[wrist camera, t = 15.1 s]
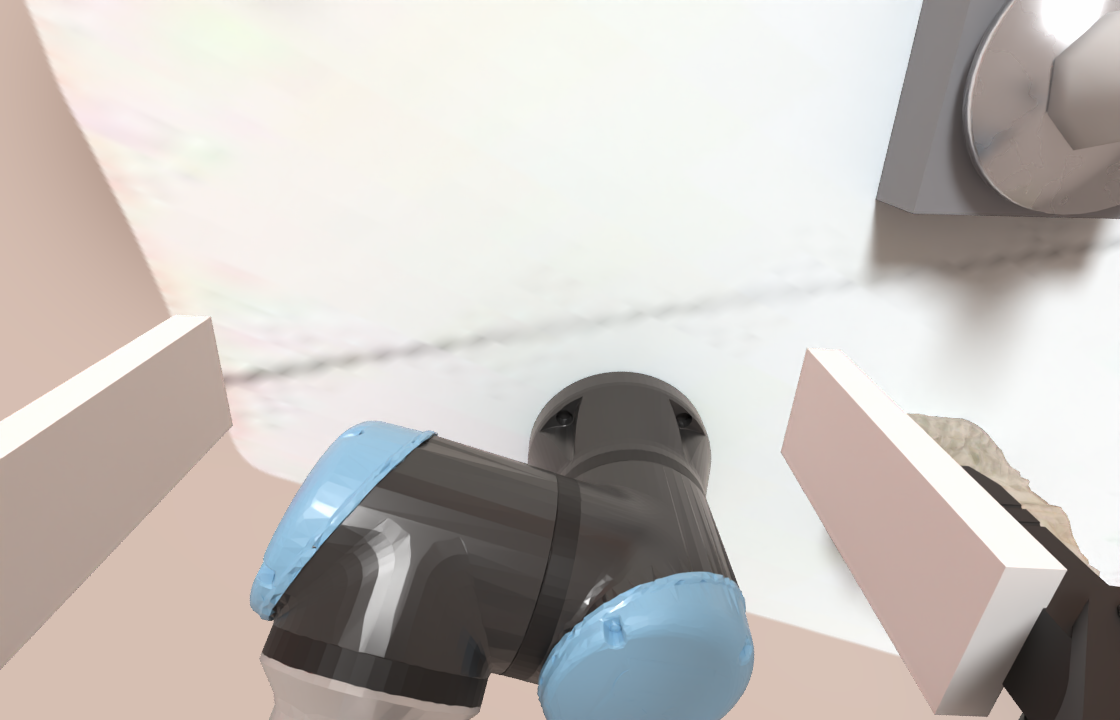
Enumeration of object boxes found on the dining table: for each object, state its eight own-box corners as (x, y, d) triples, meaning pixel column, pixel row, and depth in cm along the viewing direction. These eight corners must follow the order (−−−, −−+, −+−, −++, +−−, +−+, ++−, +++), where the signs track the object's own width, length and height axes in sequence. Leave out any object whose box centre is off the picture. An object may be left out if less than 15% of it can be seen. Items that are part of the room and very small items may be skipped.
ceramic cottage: (860, 393, 49) (973, 527, 36) (1032, 433, 52) (1197, 573, 38) (778, 529, 56) (848, 682, 43) (932, 559, 59) (1042, 713, 46)
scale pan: (1171, 214, 37) (1186, 217, 36) (930, 208, 37) (939, 211, 36) (1303, -80, 31) (1325, -85, 30) (1013, -88, 31) (1027, -93, 30)
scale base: (1106, 205, 43) (1180, 222, 38) (875, 199, 43) (918, 215, 38) (1215, -66, 36) (1322, -90, 31) (941, -74, 36) (1003, -99, 31)
